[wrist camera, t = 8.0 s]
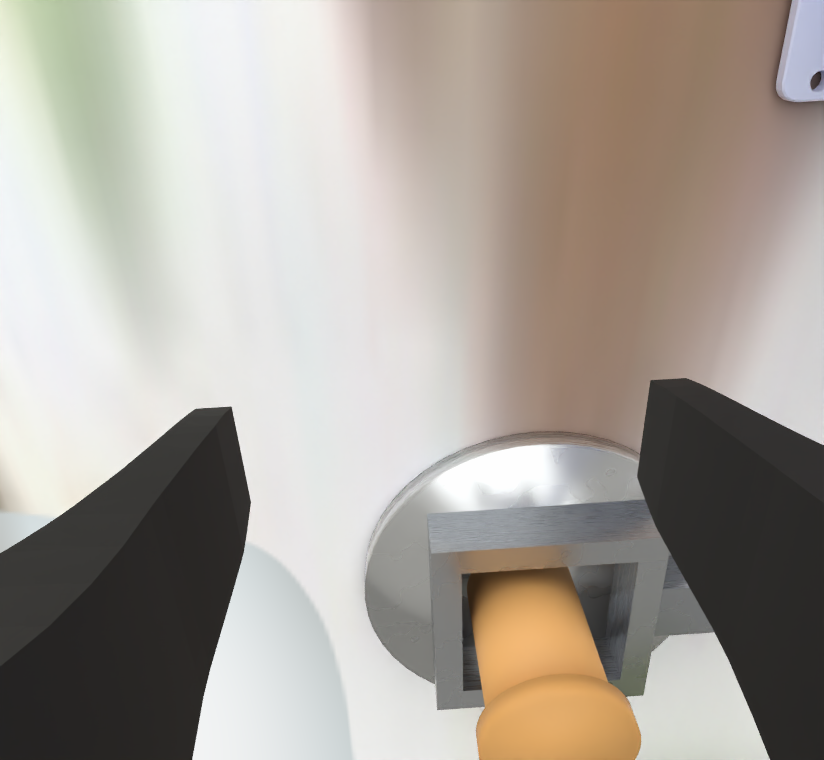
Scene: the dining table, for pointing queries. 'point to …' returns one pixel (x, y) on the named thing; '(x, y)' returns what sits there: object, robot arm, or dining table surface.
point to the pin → (543, 673)
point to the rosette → (524, 556)
